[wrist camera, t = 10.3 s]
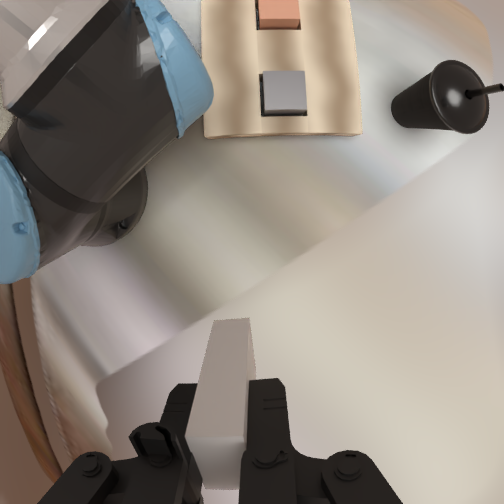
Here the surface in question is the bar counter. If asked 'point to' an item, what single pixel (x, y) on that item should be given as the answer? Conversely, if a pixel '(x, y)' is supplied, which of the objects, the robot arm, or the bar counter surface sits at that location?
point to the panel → (280, 69)
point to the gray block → (284, 93)
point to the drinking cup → (445, 100)
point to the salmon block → (278, 14)
